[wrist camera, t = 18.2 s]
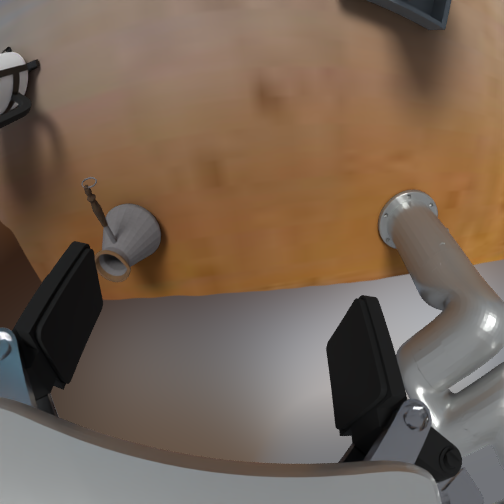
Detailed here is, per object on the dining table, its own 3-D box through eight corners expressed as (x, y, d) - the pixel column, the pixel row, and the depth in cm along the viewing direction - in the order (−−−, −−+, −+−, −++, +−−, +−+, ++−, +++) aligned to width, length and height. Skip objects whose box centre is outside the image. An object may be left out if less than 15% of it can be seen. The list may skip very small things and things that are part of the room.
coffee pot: (167, 250, 58) (144, 307, 46) (115, 245, 57) (85, 297, 45) (160, 145, 45) (123, 184, 33) (100, 145, 44) (51, 183, 32)
